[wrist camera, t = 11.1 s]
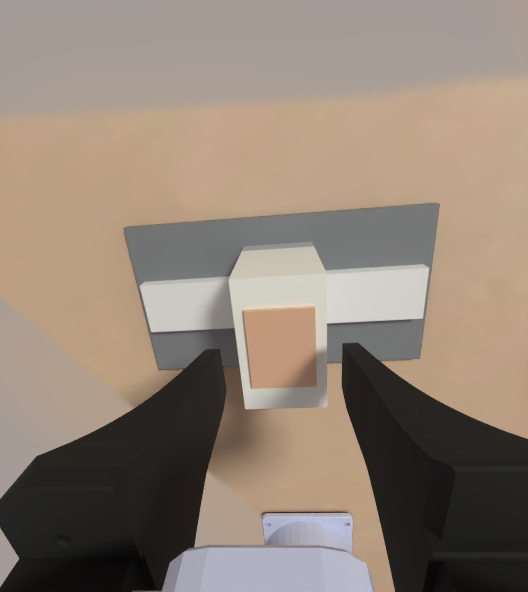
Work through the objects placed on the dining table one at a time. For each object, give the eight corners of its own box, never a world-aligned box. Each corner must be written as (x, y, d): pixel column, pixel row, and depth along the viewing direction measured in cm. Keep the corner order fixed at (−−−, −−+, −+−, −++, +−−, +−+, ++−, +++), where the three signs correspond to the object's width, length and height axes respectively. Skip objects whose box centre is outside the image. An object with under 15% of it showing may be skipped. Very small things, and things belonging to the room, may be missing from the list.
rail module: (314, 342, 20) (327, 410, 15) (254, 345, 21) (244, 412, 15) (311, 241, 18) (327, 275, 12) (244, 246, 18) (227, 280, 12)
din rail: (416, 354, 21) (424, 365, 20) (161, 365, 22) (154, 376, 21) (435, 202, 17) (446, 205, 16) (127, 226, 18) (117, 230, 17)
